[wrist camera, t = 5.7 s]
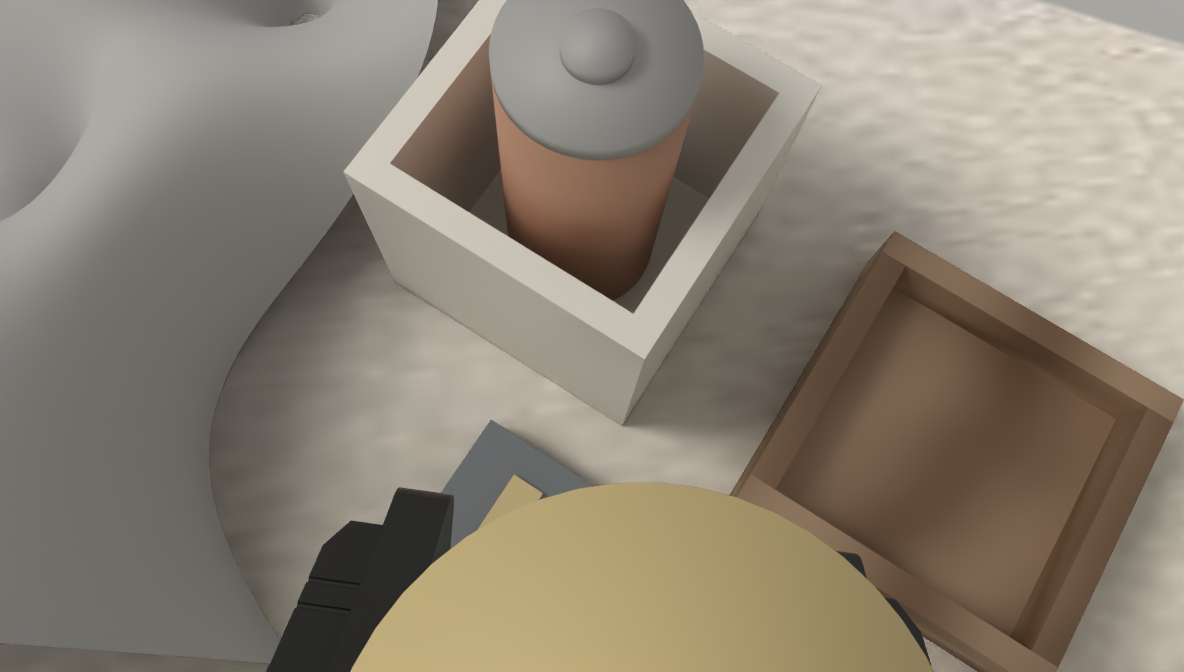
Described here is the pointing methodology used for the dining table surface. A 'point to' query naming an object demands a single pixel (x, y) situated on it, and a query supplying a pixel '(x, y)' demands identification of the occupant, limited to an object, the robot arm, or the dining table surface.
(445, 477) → the dining table surface
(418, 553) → the robot arm
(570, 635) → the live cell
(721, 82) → the white planter box
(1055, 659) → the brown wooden tray
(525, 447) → the grey board
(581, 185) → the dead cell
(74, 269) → the sculpture
